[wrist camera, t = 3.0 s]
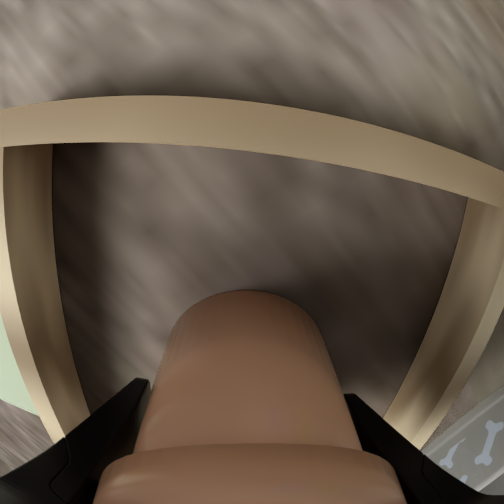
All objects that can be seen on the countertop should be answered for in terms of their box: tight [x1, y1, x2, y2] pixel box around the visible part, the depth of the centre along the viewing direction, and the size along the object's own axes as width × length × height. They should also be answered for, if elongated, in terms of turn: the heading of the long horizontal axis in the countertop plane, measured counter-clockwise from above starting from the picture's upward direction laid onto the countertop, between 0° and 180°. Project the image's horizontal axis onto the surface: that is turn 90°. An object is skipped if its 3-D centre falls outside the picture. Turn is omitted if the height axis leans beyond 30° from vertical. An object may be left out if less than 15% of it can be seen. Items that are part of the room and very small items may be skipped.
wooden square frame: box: [0, 95, 504, 450], centre depth 9 cm, size 16×16×2 cm
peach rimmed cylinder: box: [93, 290, 407, 504], centre depth 7 cm, size 7×7×7 cm
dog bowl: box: [421, 386, 504, 495], centre depth 13 cm, size 17×18×5 cm
